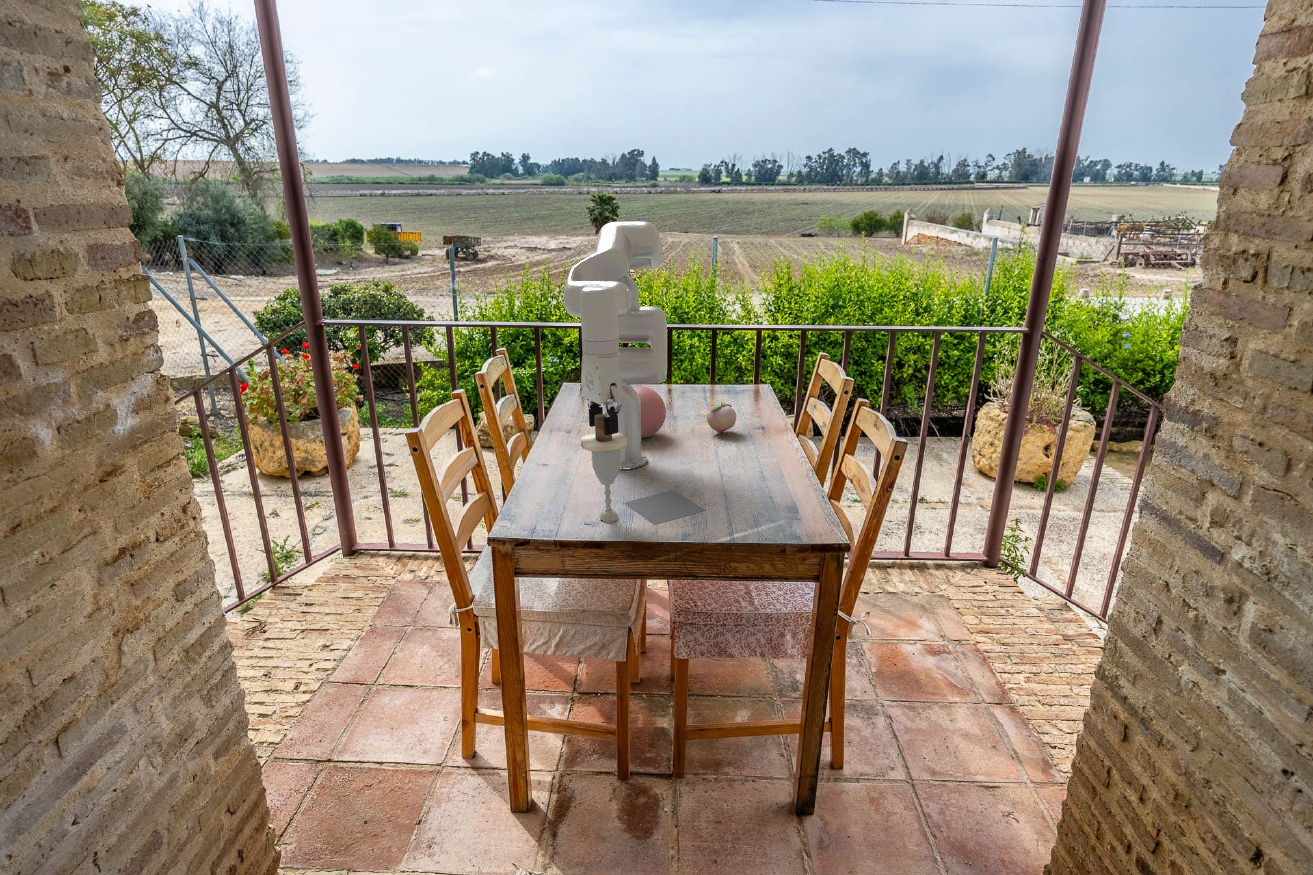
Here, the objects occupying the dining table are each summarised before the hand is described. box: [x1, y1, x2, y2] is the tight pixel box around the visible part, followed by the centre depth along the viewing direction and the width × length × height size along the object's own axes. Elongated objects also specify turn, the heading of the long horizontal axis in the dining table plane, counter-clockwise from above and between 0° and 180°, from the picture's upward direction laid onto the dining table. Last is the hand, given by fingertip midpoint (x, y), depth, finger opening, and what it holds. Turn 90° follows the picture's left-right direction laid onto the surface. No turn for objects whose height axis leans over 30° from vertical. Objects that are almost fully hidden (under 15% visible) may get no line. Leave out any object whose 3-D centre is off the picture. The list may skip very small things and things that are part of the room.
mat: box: [623, 489, 707, 526], centre depth 162 cm, size 14×14×1 cm
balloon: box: [633, 386, 667, 439], centre depth 212 cm, size 15×20×15 cm
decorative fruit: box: [706, 401, 737, 434], centre depth 212 cm, size 9×8×10 cm
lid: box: [580, 413, 627, 453], centre depth 150 cm, size 10×10×6 cm
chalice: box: [591, 450, 621, 523], centre depth 154 cm, size 7×7×18 cm
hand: (603, 428), depth 150 cm, fingers open, 6 cm apart
